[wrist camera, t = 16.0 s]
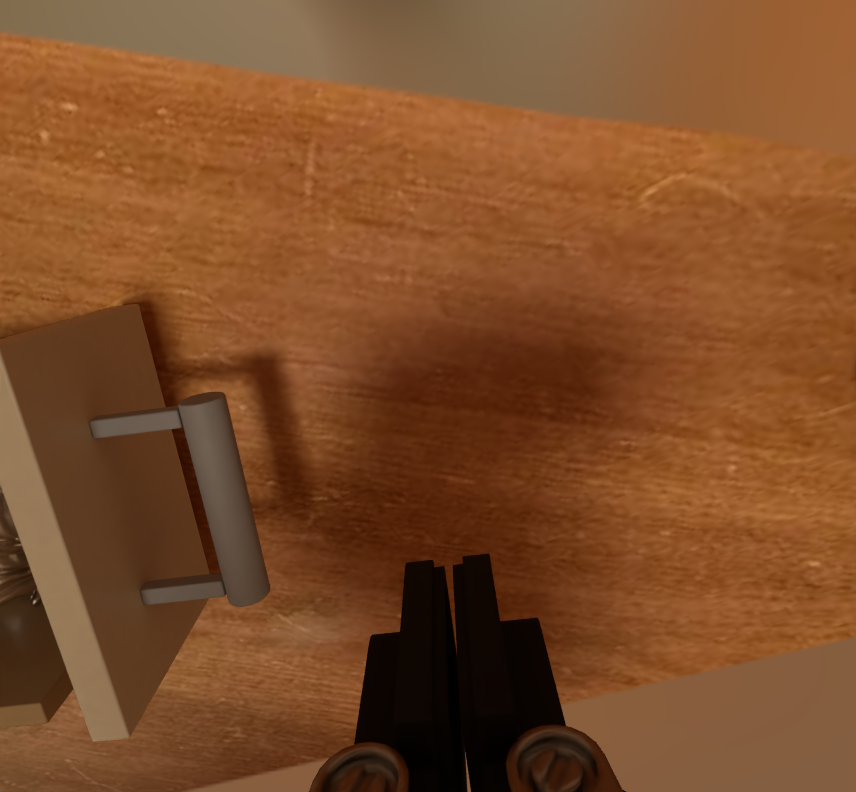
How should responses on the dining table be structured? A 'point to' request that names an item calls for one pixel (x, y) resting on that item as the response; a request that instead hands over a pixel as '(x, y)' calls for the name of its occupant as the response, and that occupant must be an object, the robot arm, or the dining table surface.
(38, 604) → the ornament
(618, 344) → the dining table surface
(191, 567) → the drawer
